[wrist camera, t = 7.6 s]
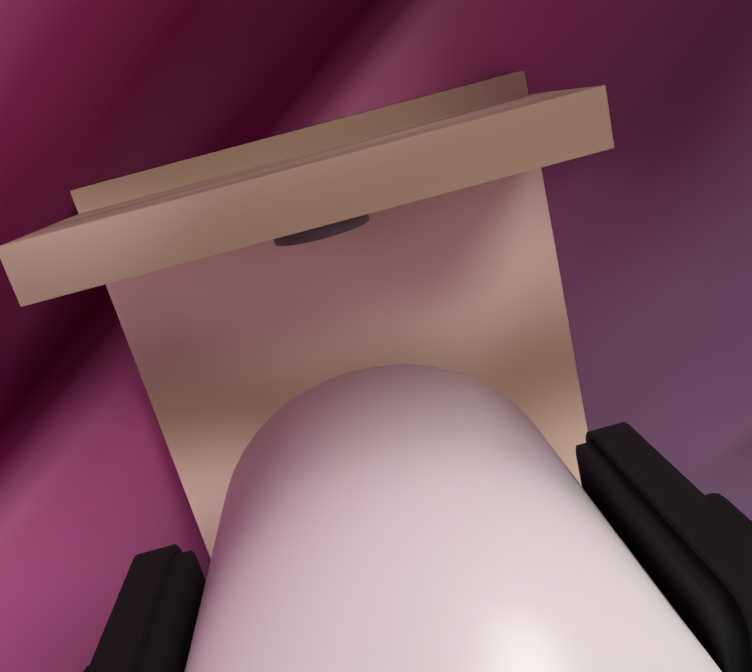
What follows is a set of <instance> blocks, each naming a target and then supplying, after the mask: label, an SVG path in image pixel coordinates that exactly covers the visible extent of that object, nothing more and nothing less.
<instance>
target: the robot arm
mask: <svg viewBox="0 0 752 672" xmlns="http://www.w3.org/2000/svg"><path fill="white" fill-rule="evenodd" d="M576 458H577V463H578V468H579V474H580V479H581V485H582V487H583V489H584V490H585V491H586V493H587V494H588V495H589V497H590V498H591V499H592V501H593V502H594V503H595V505H596V506H597V507H598V509H599V510H600V511H601V513H602V514H603V515H604V517H605V518H606V519H607V520H608V522H609V523H610V524H611V526H612V527H613V528H614V530H615V531H616V532H617V534H618V535H619V536H620V538H621V539H622V540H623V542H624V543H625V544H626V546H627V547H628V548H629V550H630V551H631V552H632V554H633V555H634V556H635V557H636V559H637V560H638V561H639V563H640V564H641V565H642V567H643V568H644V569H645V571H646V572H647V573H648V575H649V576H650V577H651V579H652V580H653V581H654V583H655V584H656V585H657V587H658V588H659V589H660V591H661V592H662V593H663V595H664V596H665V597H666V598H667V600H668V601H669V602H670V604H671V605H672V606H673V608H674V609H675V610H676V612H677V613H678V614H679V616H680V617H681V618H682V620H683V621H684V622H685V624H686V625H687V626H688V628H689V629H690V630H691V632H692V633H693V634H694V635H695V637H696V638H697V639H698V641H699V642H700V643H701V645H702V646H703V647H704V649H705V650H706V651H707V653H708V654H709V655H710V657H711V658H712V659H713V661H714V662H715V663H716V665H717V666H718V667H719V669H720V670H721V671H722V672H752V521H751V520H749V519H748V518H747V517H746V516H745V515H744V514H743V513H742V512H741V511H739V510H738V509H737V508H736V507H735V506H734V505H733V504H732V503H730V502H729V501H728V500H727V499H726V498H724V497H723V496H721V495H720V494H717V493H710V494H707V495H704V494H703V493H702V492H700V491H699V490H698V489H697V488H696V487H695V486H694V485H693V484H692V483H691V482H690V481H689V480H688V479H687V478H686V477H684V476H683V475H682V474H681V473H680V472H679V471H678V470H677V469H676V468H675V467H674V466H673V465H672V464H671V463H669V462H668V461H667V460H666V459H665V458H664V457H663V456H662V455H661V454H660V453H659V452H658V451H657V450H656V449H655V448H653V447H652V446H651V445H650V444H649V443H648V442H647V441H646V440H645V439H644V438H643V437H642V436H641V435H640V434H638V433H637V432H636V431H635V430H634V429H633V428H632V427H631V426H630V425H629V424H627V423H626V422H622V423H618V424H615V425H611V426H607V427H604V428H600V429H596V430H593V431H589V432H587V434H586V443H583V444H579V445H576ZM205 582H206V580H205V578H204V575H203V572H202V570H201V567H200V565H199V562H198V560H197V557H196V555H195V554H194V552H193V551H191V550H190V551H187V552H183V553H182V550H181V549H180V548H179V547H178V546H177V545H175V544H174V545H171V546H167V547H163V548H160V549H156V550H152V551H149V552H145V553H141V554H138V555H136V556H135V558H134V559H133V561H132V564H131V566H130V569H129V571H128V574H127V576H126V578H125V581H124V583H123V586H122V588H121V590H120V593H119V595H118V598H117V600H116V603H115V605H114V607H113V610H112V612H111V615H110V617H109V620H108V622H107V624H106V627H105V629H104V632H103V634H102V636H101V639H100V641H99V644H98V646H97V649H96V651H95V653H94V656H93V658H92V661H91V663H90V665H89V666H87V667H86V669H85V670H84V672H185V668H186V664H187V659H188V655H189V651H190V647H191V642H192V638H193V634H194V629H195V625H196V621H197V617H198V612H199V608H200V604H201V599H202V595H203V591H204V587H205Z"/></svg>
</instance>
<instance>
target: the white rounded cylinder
mask: <svg viewBox="0 0 752 672" xmlns="http://www.w3.org/2000/svg"><path fill="white" fill-rule="evenodd" d="M185 672H722V671H721V670H720V669H719V667H718V666H717V665H716V663H715V662H714V661H713V659H712V658H711V657H710V655H709V654H708V653H707V651H706V650H705V649H704V647H703V646H702V645H701V643H700V642H699V641H698V639H697V638H696V637H695V635H694V634H693V633H692V632H691V630H690V629H689V628H688V626H687V625H686V624H685V622H684V621H683V620H682V618H681V617H680V616H679V614H678V613H677V612H676V610H675V609H674V608H673V606H672V605H671V604H670V602H669V601H668V600H667V598H666V597H665V596H664V595H663V593H662V592H661V591H660V589H659V588H658V587H657V585H656V584H655V583H654V581H653V580H652V579H651V577H650V576H649V575H648V573H647V572H646V571H645V569H644V568H643V567H642V565H641V564H640V563H639V561H638V560H637V559H636V557H635V556H634V555H633V554H632V552H631V551H630V550H629V548H628V547H627V546H626V544H625V543H624V542H623V540H622V539H621V538H620V536H619V535H618V534H617V532H616V531H615V530H614V528H613V527H612V526H611V524H610V523H609V522H608V520H607V519H606V518H605V517H604V515H603V514H602V513H601V511H600V510H599V509H598V507H597V506H596V505H595V503H594V502H593V501H592V499H591V498H590V497H589V495H588V494H587V493H586V491H585V490H584V489H583V487H582V486H581V485H580V483H579V482H578V481H577V479H576V478H575V477H574V476H573V474H572V473H571V472H570V470H569V469H568V468H567V466H566V465H565V464H564V462H563V461H562V460H561V458H560V457H559V456H558V454H557V453H556V452H555V450H554V449H553V448H552V446H551V445H550V444H549V442H548V441H547V440H546V439H545V437H544V436H543V435H542V433H541V432H540V431H539V429H538V428H537V427H536V426H535V424H534V423H533V422H532V421H531V420H530V419H529V417H528V416H527V415H526V414H525V413H524V412H523V411H522V410H521V409H520V408H519V407H518V406H516V405H515V404H514V403H513V402H512V401H511V400H510V399H508V398H507V397H506V396H504V395H503V394H501V393H499V392H498V391H496V390H495V389H493V388H492V387H490V386H488V385H486V384H484V383H482V382H480V381H478V380H476V379H473V378H471V377H469V376H466V375H463V374H460V373H457V372H453V371H450V370H447V369H441V368H436V367H430V366H424V365H404V364H398V365H385V366H375V367H370V368H365V369H360V370H355V371H351V372H348V373H345V374H342V375H339V376H337V377H334V378H331V379H328V380H326V381H324V382H322V383H320V384H318V385H316V386H314V387H312V388H310V389H308V390H306V391H305V392H303V393H302V394H300V395H299V396H297V397H295V398H294V399H292V400H291V401H289V402H288V403H287V404H286V405H284V406H283V407H282V408H281V409H280V410H279V411H277V412H276V413H275V414H274V415H273V416H271V417H270V419H269V420H268V421H267V422H266V423H265V424H264V425H263V426H262V427H261V428H260V430H259V431H258V432H257V433H256V434H255V435H254V437H253V438H252V440H251V441H250V443H249V444H248V446H247V447H246V449H245V450H244V452H243V453H242V455H241V457H240V459H239V461H238V463H237V465H236V467H235V469H234V471H233V474H232V477H231V480H230V483H229V486H228V489H227V492H226V497H225V501H224V505H223V509H222V514H221V518H220V522H219V527H218V531H217V535H216V539H215V544H214V548H213V552H212V557H211V561H210V565H209V569H208V574H207V578H206V582H205V587H204V591H203V595H202V599H201V604H200V608H199V612H198V617H197V621H196V625H195V629H194V634H193V638H192V642H191V647H190V651H189V655H188V659H187V664H186V668H185Z"/></svg>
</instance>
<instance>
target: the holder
mask: <svg viewBox="0 0 752 672" xmlns="http://www.w3.org/2000/svg"><path fill="white" fill-rule="evenodd" d="M612 148H614V142H613V135H612V128H611V121H610V114H609V107H608V100H607V93H606V86H605V85H601V86H593V87H584V88H576V89H567V90H558V91H550V92H541V93H533V94H528V89H527V84H526V78H525V72H524V70H522V71H518V72H513V73H510V74H506V75H502V76H498V77H495V78H491V79H487V80H483V81H480V82H476V83H472V84H468V85H465V86H461V87H457V88H453V89H450V90H446V91H442V92H438V93H435V94H431V95H427V96H423V97H420V98H416V99H412V100H408V101H405V102H401V103H397V104H393V105H390V106H386V107H382V108H378V109H375V110H371V111H367V112H363V113H360V114H356V115H352V116H348V117H345V118H341V119H337V120H333V121H330V122H326V123H322V124H318V125H315V126H311V127H307V128H303V129H300V130H296V131H292V132H288V133H285V134H281V135H277V136H273V137H269V138H266V139H262V140H258V141H254V142H251V143H247V144H243V145H239V146H236V147H232V148H228V149H224V150H221V151H217V152H213V153H209V154H206V155H202V156H198V157H194V158H191V159H187V160H183V161H179V162H176V163H172V164H168V165H164V166H161V167H157V168H153V169H149V170H146V171H142V172H138V173H134V174H131V175H127V176H123V177H119V178H116V179H112V180H108V181H104V182H101V183H97V184H93V185H89V186H86V187H82V188H78V189H75V190H72V191H70V193H71V195H72V198H73V201H74V203H75V206H76V208H77V211H78V214H77V215H75V216H72V217H70V218H68V219H65V220H63V221H60V222H58V223H55V224H53V225H50V226H48V227H45V228H43V229H41V230H38V231H36V232H33V233H31V234H28V235H26V236H23V237H21V238H18V239H16V240H14V241H11V242H9V243H6V244H4V245H1V246H0V259H1V261H2V264H3V266H4V269H5V271H6V273H7V276H8V278H9V280H10V283H11V285H12V287H13V290H14V292H15V294H16V297H17V299H18V301H19V304H20V306H21V307H22V306H26V305H30V304H33V303H37V302H41V301H45V300H48V299H52V298H56V297H60V296H63V295H67V294H71V293H75V292H78V291H82V290H86V289H89V288H93V287H97V286H101V285H104V284H106V287H107V289H108V292H109V295H110V297H111V300H112V302H113V305H114V308H115V310H116V313H117V315H118V318H119V321H120V323H121V326H122V328H123V331H124V334H125V336H126V339H127V342H128V344H129V347H130V349H131V352H132V355H133V357H134V360H135V362H136V365H137V368H138V370H139V373H140V376H141V378H142V381H143V383H144V386H145V389H146V391H147V394H148V396H149V399H150V402H151V404H152V407H153V409H154V412H155V415H156V417H157V420H158V423H159V425H160V428H161V430H162V433H163V436H164V438H165V441H166V443H167V446H168V449H169V451H170V454H171V456H172V459H173V462H174V464H175V467H176V470H177V472H178V475H179V477H180V480H181V483H182V485H183V488H184V490H185V493H186V496H187V498H188V501H189V503H190V506H191V509H192V511H193V514H194V517H195V519H196V522H197V524H198V527H199V530H200V532H201V535H202V537H203V540H204V543H205V545H206V548H207V551H208V553H209V556H210V558H211V557H212V552H213V548H214V544H215V539H216V535H217V531H218V527H219V522H220V518H221V514H222V509H223V505H224V501H225V497H226V492H227V489H228V486H229V483H230V480H231V477H232V474H233V471H234V469H235V467H236V465H237V463H238V461H239V459H240V457H241V455H242V453H243V452H244V450H245V449H246V447H247V446H248V444H249V443H250V441H251V440H252V438H253V437H254V435H255V434H256V433H257V432H258V431H259V430H260V428H261V427H262V426H263V425H264V424H265V423H266V422H267V421H268V420H269V419H270V417H271V416H273V415H274V414H275V413H276V412H277V411H279V410H280V409H281V408H282V407H283V406H284V405H286V404H287V403H288V402H289V401H291V400H292V399H294V398H295V397H297V396H299V395H300V394H302V393H303V392H305V391H306V390H308V389H310V388H312V387H314V386H316V385H318V384H320V383H322V382H324V381H326V380H328V379H331V378H334V377H337V376H339V375H342V374H345V373H348V372H351V371H355V370H360V369H365V368H370V367H375V366H385V365H398V364H404V365H424V366H430V367H436V368H441V369H447V370H450V371H453V372H457V373H460V374H463V375H466V376H469V377H471V378H473V379H476V380H478V381H480V382H482V383H484V384H486V385H488V386H490V387H492V388H493V389H495V390H496V391H498V392H499V393H501V394H503V395H504V396H506V397H507V398H508V399H510V400H511V401H512V402H513V403H514V404H515V405H516V406H518V407H519V408H520V409H521V410H522V411H523V412H524V413H525V414H526V415H527V416H528V417H529V419H530V420H531V421H532V422H533V423H534V424H535V426H536V427H537V428H538V429H539V431H540V432H541V433H542V435H543V436H544V437H545V439H546V440H547V441H548V442H549V444H550V445H551V446H552V448H553V449H554V450H555V452H556V453H557V454H558V456H559V457H560V458H561V460H562V461H563V462H564V464H565V465H566V466H567V468H568V469H569V470H570V472H571V473H572V474H573V476H574V477H575V478H576V479H577V481H578V482H579V483H580V485H581V479H580V474H579V468H578V463H577V458H576V445H579V444H583V443H586V434H587V432H588V431H587V425H586V420H585V414H584V408H583V402H582V397H581V391H580V385H579V380H578V374H577V368H576V363H575V357H574V351H573V346H572V340H571V334H570V328H569V323H568V317H567V311H566V306H565V300H564V294H563V289H562V283H561V277H560V272H559V266H558V260H557V255H556V249H555V243H554V237H553V232H552V226H551V220H550V215H549V209H548V203H547V198H546V192H545V186H544V181H543V175H542V169H541V167H545V166H549V165H552V164H556V163H560V162H564V161H567V160H571V159H575V158H579V157H582V156H586V155H590V154H594V153H597V152H601V151H605V150H609V149H612ZM581 486H582V485H581Z"/></svg>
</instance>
